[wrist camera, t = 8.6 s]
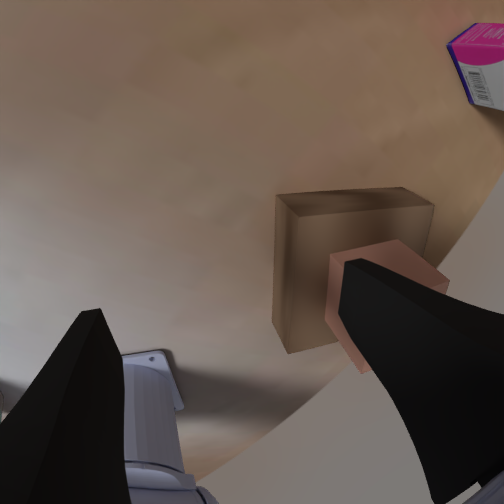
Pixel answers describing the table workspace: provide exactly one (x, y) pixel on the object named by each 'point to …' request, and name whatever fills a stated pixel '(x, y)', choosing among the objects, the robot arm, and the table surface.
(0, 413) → the coffee cup
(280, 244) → the walnut block
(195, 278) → the table surface
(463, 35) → the supplement box
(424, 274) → the terracotta cube
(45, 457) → the robot arm
